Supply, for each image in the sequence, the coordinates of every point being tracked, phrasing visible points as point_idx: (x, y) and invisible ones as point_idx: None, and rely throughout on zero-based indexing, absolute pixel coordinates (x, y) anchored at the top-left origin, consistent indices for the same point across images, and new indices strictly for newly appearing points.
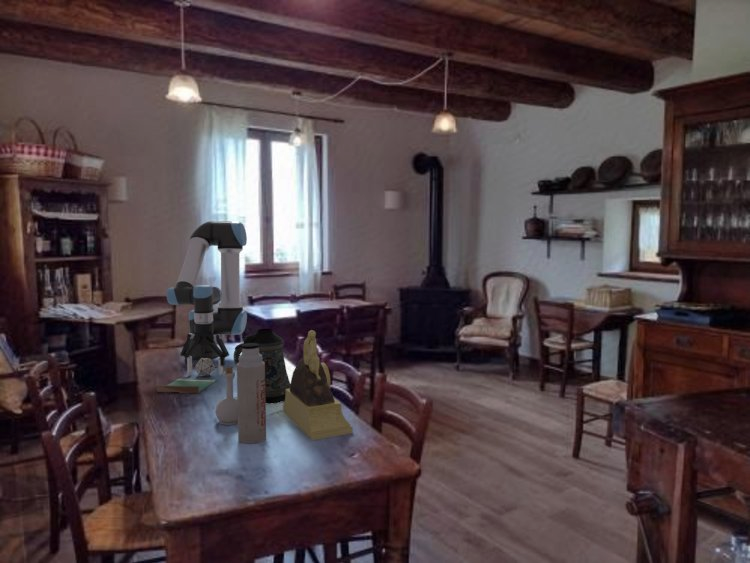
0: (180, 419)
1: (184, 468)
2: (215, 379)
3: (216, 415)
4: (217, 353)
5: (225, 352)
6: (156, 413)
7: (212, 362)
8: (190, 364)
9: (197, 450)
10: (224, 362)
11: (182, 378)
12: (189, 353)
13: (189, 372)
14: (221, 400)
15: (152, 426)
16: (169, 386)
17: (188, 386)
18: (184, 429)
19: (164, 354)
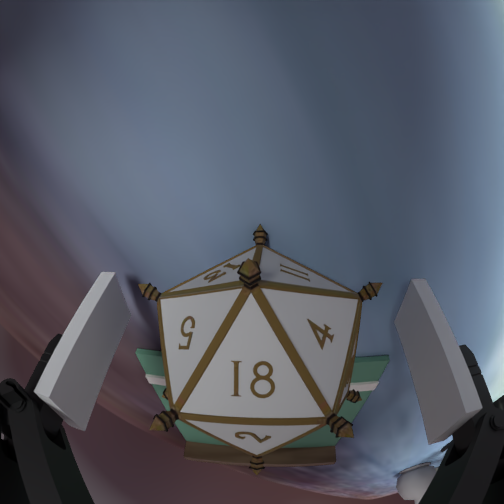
0: (339, 481)
1: (371, 493)
2: (376, 362)
3: (397, 482)
4: (431, 495)
5: (502, 476)
6: (285, 481)
7: (347, 373)
8: (96, 350)
9: (378, 488)
10: (475, 373)
11: (154, 360)
12: (77, 470)
13: (128, 315)
14: (407, 499)
15: (305, 489)
16: (232, 463)
17: (300, 465)
18: (354, 485)
19: None
